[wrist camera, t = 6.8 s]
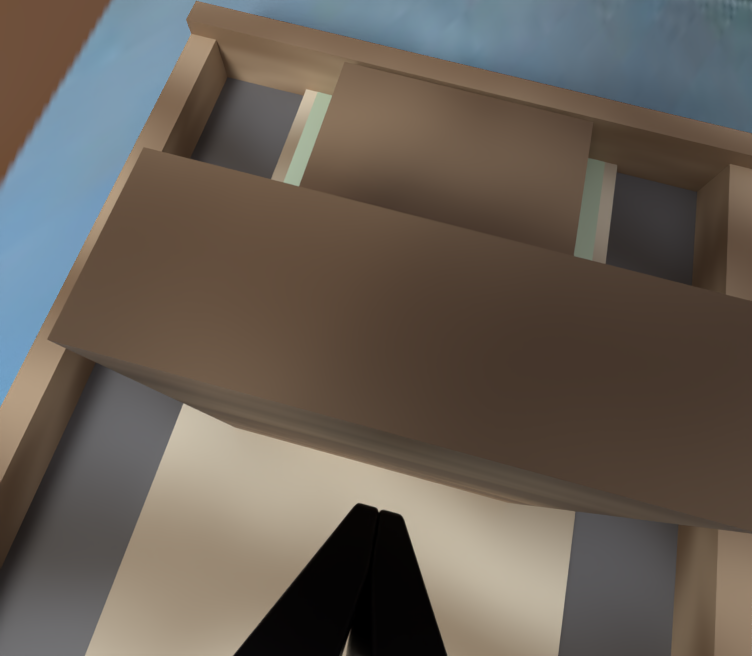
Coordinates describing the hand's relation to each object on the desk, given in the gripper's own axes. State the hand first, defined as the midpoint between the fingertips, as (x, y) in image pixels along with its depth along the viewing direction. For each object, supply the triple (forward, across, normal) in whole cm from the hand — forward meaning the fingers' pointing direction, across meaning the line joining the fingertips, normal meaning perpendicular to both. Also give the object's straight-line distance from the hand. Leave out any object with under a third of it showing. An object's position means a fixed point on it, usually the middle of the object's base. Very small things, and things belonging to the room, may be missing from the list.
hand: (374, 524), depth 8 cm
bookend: (+10, 0, -1) cm, 10 cm away
